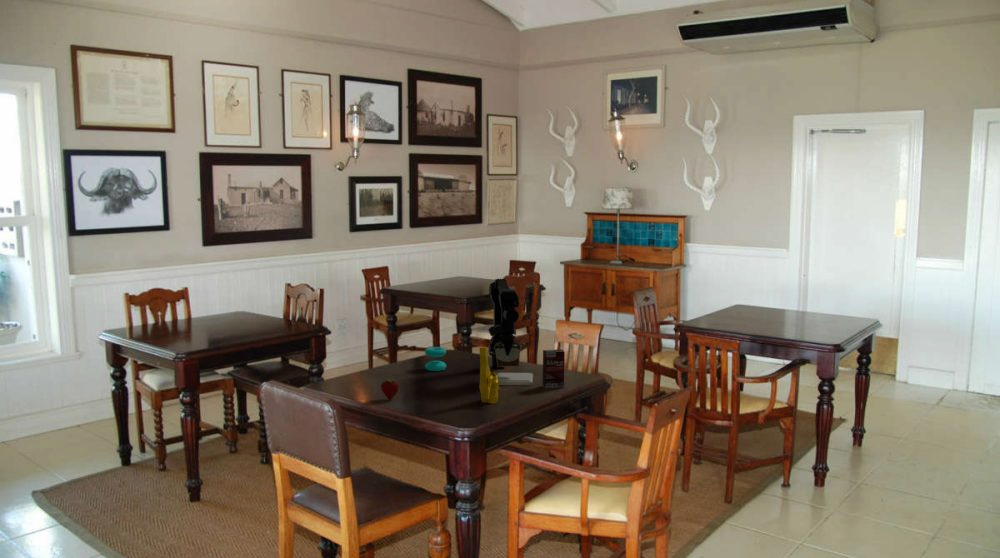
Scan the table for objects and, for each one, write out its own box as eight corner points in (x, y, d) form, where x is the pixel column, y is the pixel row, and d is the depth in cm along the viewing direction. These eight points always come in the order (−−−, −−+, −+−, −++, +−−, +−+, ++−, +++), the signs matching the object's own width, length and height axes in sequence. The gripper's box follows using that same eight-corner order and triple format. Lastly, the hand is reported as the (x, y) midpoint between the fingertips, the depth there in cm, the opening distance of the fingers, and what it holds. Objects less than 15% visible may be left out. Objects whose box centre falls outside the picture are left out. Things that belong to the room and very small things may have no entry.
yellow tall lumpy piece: (492, 408, 305) (492, 352, 303) (473, 407, 307) (473, 351, 305) (503, 396, 322) (503, 343, 320) (485, 395, 324) (485, 342, 322)
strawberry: (385, 397, 322) (384, 373, 321) (401, 398, 319) (401, 374, 318) (378, 400, 316) (377, 376, 315) (395, 402, 314) (394, 377, 313)
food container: (522, 361, 352) (522, 340, 349) (522, 366, 346) (521, 345, 343) (495, 361, 353) (494, 340, 350) (494, 366, 347) (493, 345, 344)
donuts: (443, 350, 365) (422, 350, 366) (443, 372, 366) (422, 371, 368) (448, 346, 375) (427, 346, 376) (448, 367, 376) (427, 366, 377)
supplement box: (545, 388, 335) (545, 352, 333) (542, 386, 340) (542, 349, 338) (564, 387, 337) (565, 351, 335) (561, 385, 341) (561, 348, 340)
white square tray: (497, 376, 357) (497, 372, 357) (533, 376, 356) (533, 372, 356) (495, 385, 341) (495, 380, 341) (532, 385, 341) (532, 380, 340)
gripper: (491, 315, 356) (491, 349, 358) (487, 322, 337) (487, 358, 339) (516, 315, 355) (516, 349, 357) (513, 322, 337) (513, 358, 338)
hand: (507, 354), depth 348 cm, fingers closed on food container, 6 cm apart
